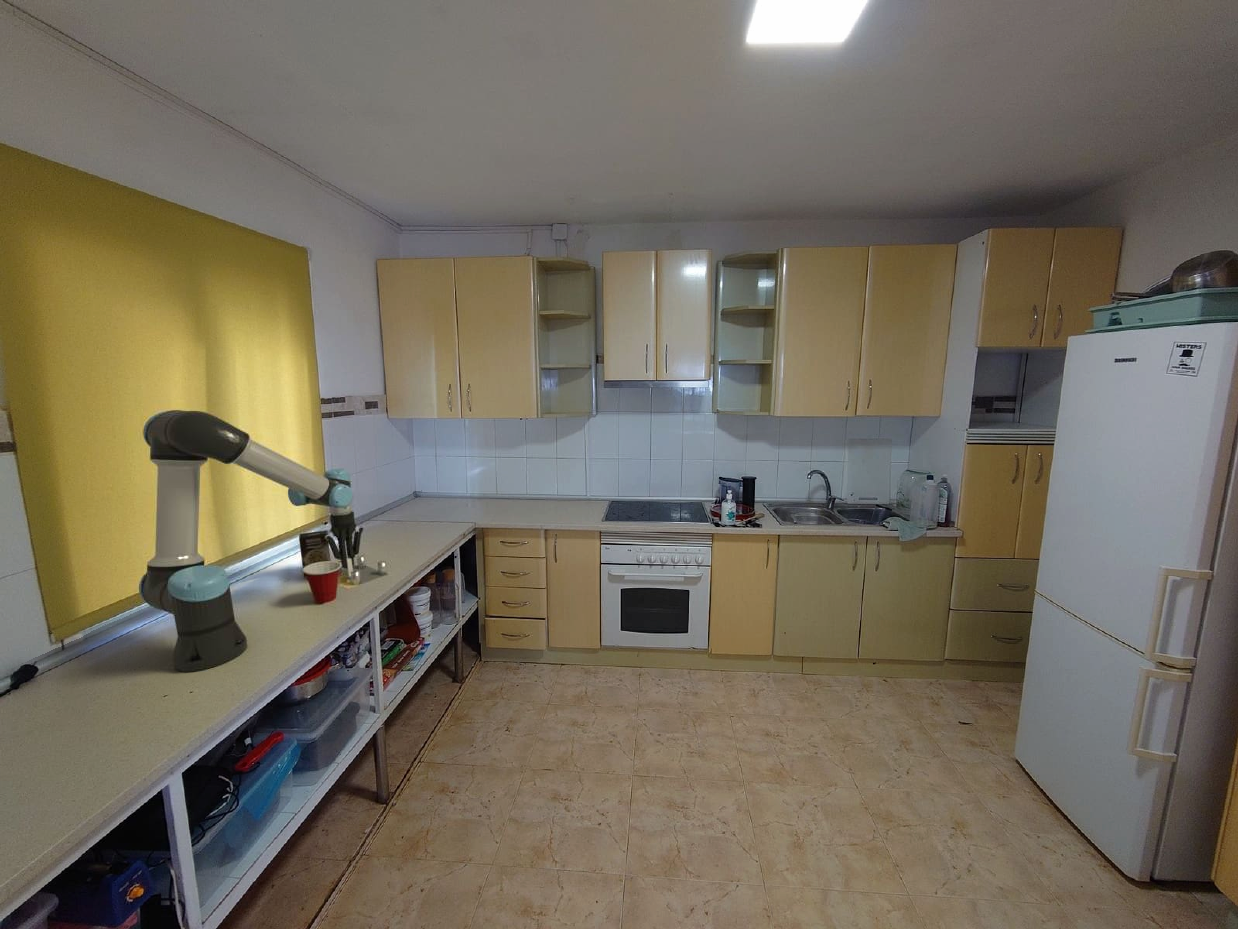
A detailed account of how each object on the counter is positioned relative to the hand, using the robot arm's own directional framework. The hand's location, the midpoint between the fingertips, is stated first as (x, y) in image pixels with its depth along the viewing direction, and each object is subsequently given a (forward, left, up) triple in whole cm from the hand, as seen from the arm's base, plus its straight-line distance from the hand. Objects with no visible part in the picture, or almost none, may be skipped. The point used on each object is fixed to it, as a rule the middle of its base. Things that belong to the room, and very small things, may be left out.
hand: (349, 575), depth 178 cm
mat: (+3, 0, -2) cm, 3 cm away
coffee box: (-4, +15, -2) cm, 16 cm away
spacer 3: (+8, +7, -2) cm, 10 cm away
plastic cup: (-13, -11, -2) cm, 17 cm away
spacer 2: (-1, -7, -2) cm, 7 cm away
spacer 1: (0, +7, -2) cm, 7 cm away
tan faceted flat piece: (-3, 0, -1) cm, 4 cm away
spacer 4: (+9, -6, -2) cm, 11 cm away
